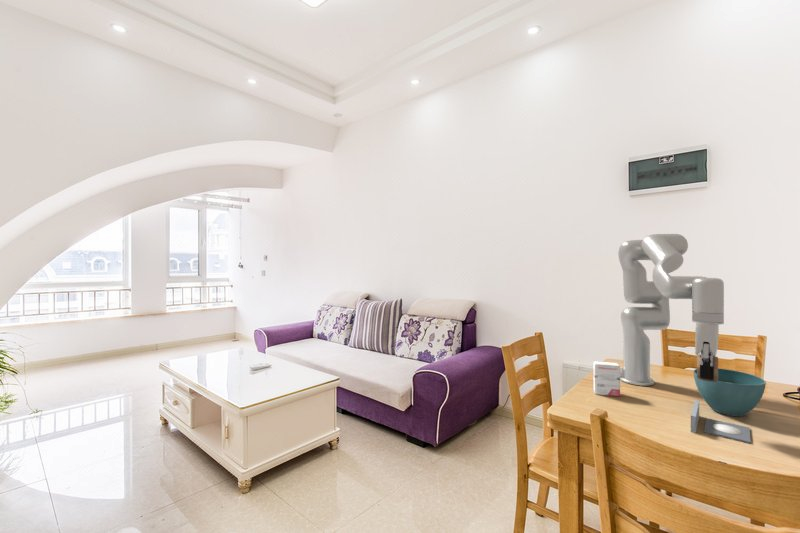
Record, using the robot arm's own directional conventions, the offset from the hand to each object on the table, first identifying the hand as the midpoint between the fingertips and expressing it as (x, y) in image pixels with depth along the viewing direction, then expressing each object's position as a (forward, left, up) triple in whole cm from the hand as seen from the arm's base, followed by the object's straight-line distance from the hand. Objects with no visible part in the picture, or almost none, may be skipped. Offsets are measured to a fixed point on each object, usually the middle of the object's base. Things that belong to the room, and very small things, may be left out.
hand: (707, 376), depth 113 cm
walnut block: (0, 0, -1) cm, 1 cm away
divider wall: (-3, 0, -16) cm, 16 cm away
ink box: (-31, +11, -16) cm, 36 cm away
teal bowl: (+5, +19, -16) cm, 25 cm away
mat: (+4, 0, -16) cm, 16 cm away
